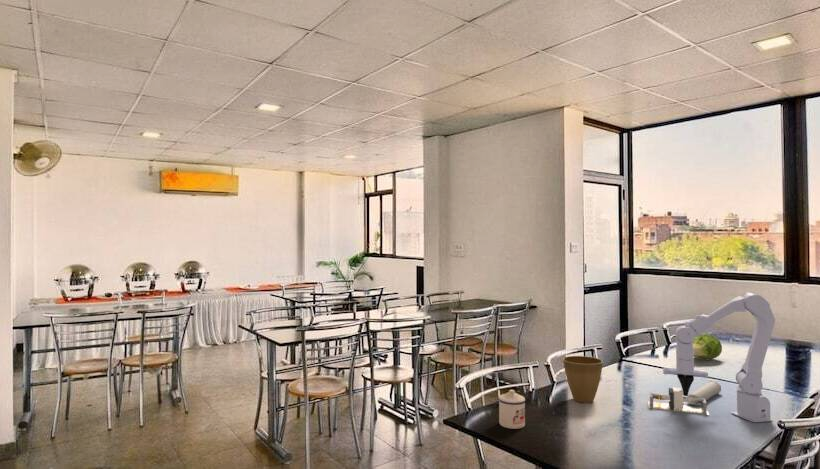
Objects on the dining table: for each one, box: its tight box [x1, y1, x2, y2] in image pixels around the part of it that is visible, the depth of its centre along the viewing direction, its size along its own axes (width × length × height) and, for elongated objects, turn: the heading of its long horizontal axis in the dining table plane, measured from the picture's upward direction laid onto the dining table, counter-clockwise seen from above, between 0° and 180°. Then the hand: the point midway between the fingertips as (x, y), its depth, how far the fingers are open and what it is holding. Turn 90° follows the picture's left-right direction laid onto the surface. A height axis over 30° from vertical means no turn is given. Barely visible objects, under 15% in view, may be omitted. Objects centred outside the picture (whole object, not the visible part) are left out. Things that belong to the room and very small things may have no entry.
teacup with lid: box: [498, 389, 526, 430], centre depth 165 cm, size 12×9×12 cm
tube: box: [686, 380, 722, 407], centre depth 191 cm, size 5×5×25 cm
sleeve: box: [671, 386, 684, 409], centre depth 180 cm, size 3×6×6 cm, turn 156°
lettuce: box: [693, 333, 723, 361], centre depth 254 cm, size 14×23×13 cm, turn 128°
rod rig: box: [647, 392, 710, 416], centre depth 180 cm, size 20×8×5 cm, turn 66°
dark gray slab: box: [668, 387, 674, 409], centre depth 181 cm, size 1×6×6 cm, turn 156°
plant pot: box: [562, 355, 604, 404], centre depth 190 cm, size 15×15×16 cm
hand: (685, 395), depth 179 cm, fingers closed
